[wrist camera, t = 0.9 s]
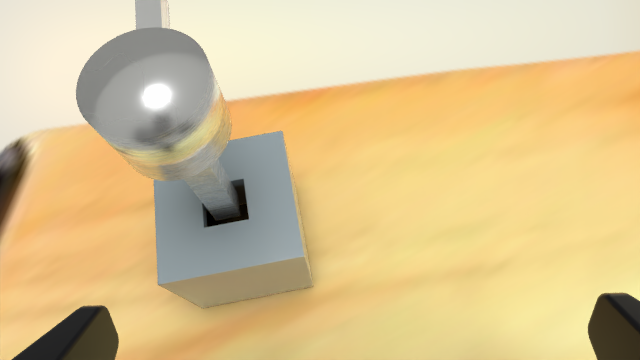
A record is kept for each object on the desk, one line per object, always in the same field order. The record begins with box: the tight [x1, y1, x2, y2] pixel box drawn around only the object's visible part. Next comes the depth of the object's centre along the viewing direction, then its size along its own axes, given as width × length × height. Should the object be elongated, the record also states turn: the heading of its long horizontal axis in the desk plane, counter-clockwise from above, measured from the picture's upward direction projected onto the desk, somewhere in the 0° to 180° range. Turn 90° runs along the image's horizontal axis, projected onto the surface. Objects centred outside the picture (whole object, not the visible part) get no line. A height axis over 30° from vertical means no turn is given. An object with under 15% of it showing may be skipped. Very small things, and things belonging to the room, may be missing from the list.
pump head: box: [76, 0, 240, 220], centre depth 15 cm, size 5×3×9 cm, turn 11°
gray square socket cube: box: [154, 131, 313, 308], centre depth 21 cm, size 6×6×6 cm
